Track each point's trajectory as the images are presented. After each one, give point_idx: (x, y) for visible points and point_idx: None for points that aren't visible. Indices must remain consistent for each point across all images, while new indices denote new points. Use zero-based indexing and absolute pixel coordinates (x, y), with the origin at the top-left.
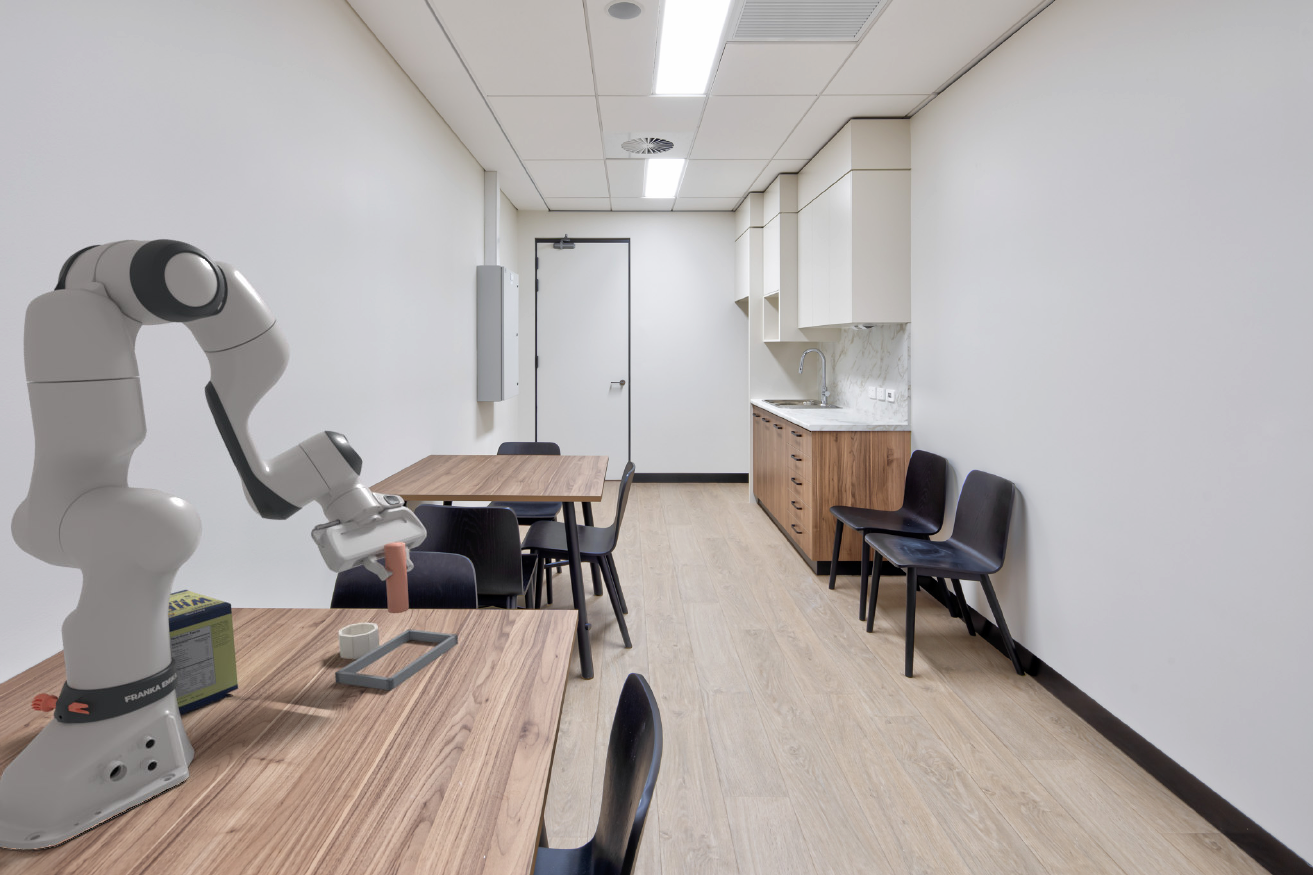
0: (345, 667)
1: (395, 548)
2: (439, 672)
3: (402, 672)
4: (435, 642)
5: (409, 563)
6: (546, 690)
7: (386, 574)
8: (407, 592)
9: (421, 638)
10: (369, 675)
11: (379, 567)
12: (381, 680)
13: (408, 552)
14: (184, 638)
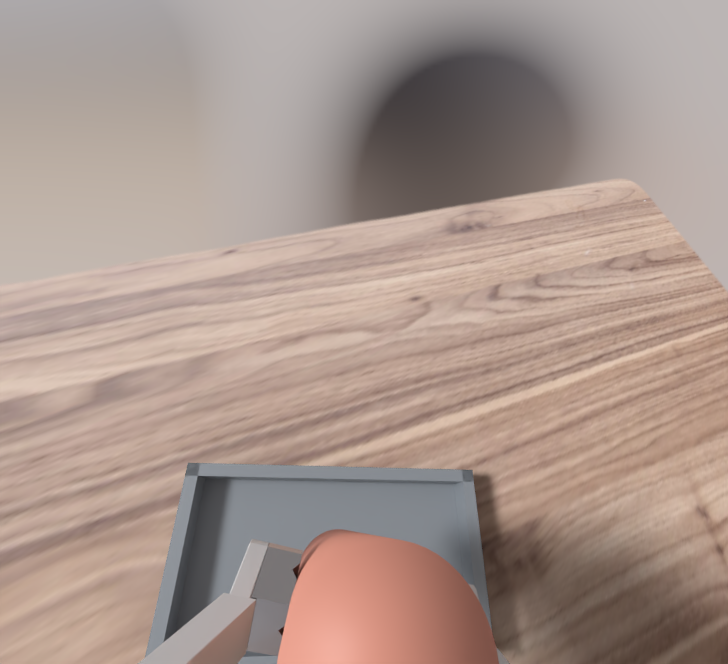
0: None
1: (460, 577)
2: (342, 433)
3: (429, 469)
4: (192, 537)
5: (267, 562)
6: (361, 233)
7: (472, 588)
8: (328, 533)
9: (178, 596)
10: (472, 541)
11: (505, 662)
12: (474, 495)
13: (179, 637)
14: None
